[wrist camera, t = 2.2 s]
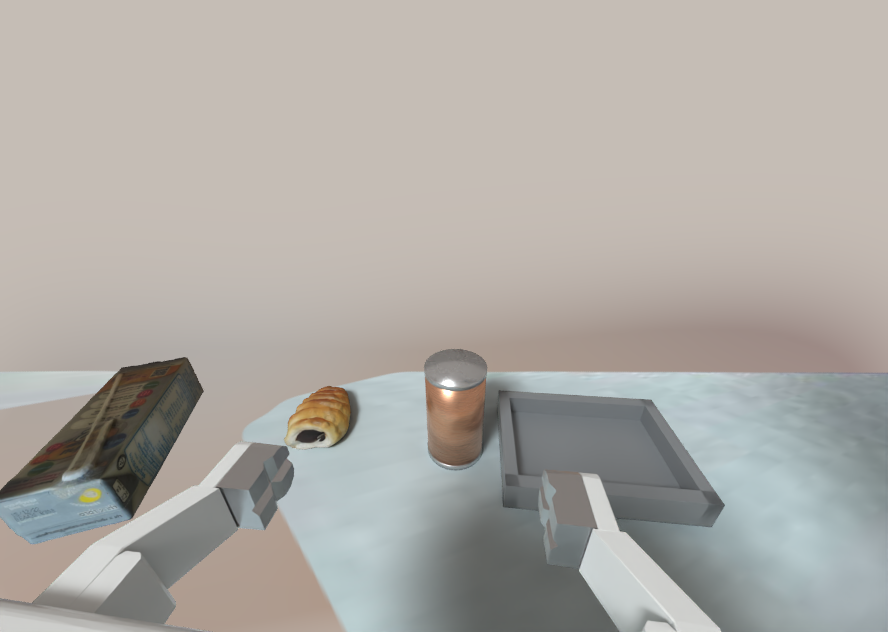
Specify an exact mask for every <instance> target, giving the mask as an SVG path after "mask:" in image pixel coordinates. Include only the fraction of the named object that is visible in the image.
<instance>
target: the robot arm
mask: <svg viewBox="0 0 888 632" xmlns="http://www.w3.org/2000/svg"><path fill="white" fill-rule="evenodd" d="M288 455H289V451H288V449H287V447H286V446H278V445H270V444H262V443H253V442H243V441H240V442H238V443H237V444H235V445H234V446H233V447H232V448H231V450H230V451H229V452H228V453H227V454H226V455H225V456H224V457H223V459H222V460H221V461H220V462H219V463H218V464H217V465H216V466H215V467H214V469H213V470H212V471H211V472H210V473H209V474H208V475H207V477H206V478H205V479H204V480H203V481H202V482H201V483H200V485H199V486H192V487H190V488H189V489H187V490H185V491H183V492H182V493H180V494H178V495H176V496H175V497H173V498H171V499H170V500H168V501H166V502H164V503H163V504H161V505H159V506H157V507H156V508H154V509H152V510H150V511H149V512H147V513H145V514H143V515H142V516H140V517H138V518H137V519H135V520H133V521H132V522H130V523H128V524H126V525H124V526H123V527H121V528H119V529H118V530H116V531H114V532H112V533H111V534H109V535H107V536H105V537H104V538H102V539H100V540H98V541H97V542H95V543H94V544H92V545H91V546H90V547H89V548H88V549H87V550H86V551H85V552H84V553H83V554H82V555H81V556H80V557H78V558H77V559H76V560H75V561H74V562H73V563H72V564H71V565H70V566H69V567H68V568H67V569H66V570H65V571H64V572H63V573H62V574H61V575H60V576H59V577H58V578H57V579H56V580H55V581H54V582H53V583H52V584H51V585H50V586H49V587H48V588H47V589H46V590H45V591H44V592H43V593H42V594H41V595H40V596H38V597H37V598H36V599H35V600H34V601H33V602H32V603H26V602H20V601H13V600H7V599H1V598H0V632H210V631H204V630H198V629H192V628H186V627H178V626H173V625H166V624H165V622H166V621H167V619H168V617H169V616H170V615H171V613H172V612H173V610H174V609H175V607H176V601H175V600H174V598H173V597H172V595H171V594H170V593H169V591H168V590H167V589H168V588H170V587H171V586H172V585H173V584H174V583H175V582H177V581H178V580H179V579H180V578H181V577H183V576H184V575H185V574H186V573H187V572H188V571H190V570H191V569H192V568H193V567H194V566H196V565H197V564H198V563H199V562H200V561H201V560H203V559H204V558H205V557H206V556H207V555H209V554H210V553H211V552H212V551H213V550H215V548H217V547H218V546H219V545H220V544H222V543H223V542H224V541H225V540H226V539H228V538H229V537H230V536H231V535H232V534H233V533H235V532H236V531H237V530H238V528H246V529H258V530H265V529H266V527H267V526H268V524H269V522H270V521H271V519H272V517H273V516H274V513H275V512H276V511H277V509H278V506H277V501H278V500H279V499H281V498H282V497H283V496H285V495H286V494H287V492H288V490H289V488H290V487H291V484H292V480H293V477H294V468H293V464H292V463H291V462H290V461H289V460H288V459H287V457H288ZM542 482H543V486H542V487H540V490H539V503H538V506H539V516H540V522H541V524H542V525H543V526H544V527H545V532H544V536H543V541H544V547H545V553H546V559H547V564H549V565H556V566H562V567H569V568H576V569H579V572H580V573H581V575H582V576H583V578H584V579H585V581H586V582H587V584H588V585H589V587H590V588H591V590H592V591H593V593H594V594H595V595H596V597H597V598H598V600H599V601H600V603H601V604H602V606H603V607H604V609H605V610H606V612H607V613H608V615H609V616H610V618H611V619H612V621H613V622H614V624H615V625H616V627H617V628H618V630H619V631H620V632H721V630H720V628H719V627H718V626H717V625H716V624H715V623H714V622H713V621H712V620H711V619H710V618H709V617H708V616H707V615H706V614H705V613H704V612H703V611H702V610H701V609H700V608H699V607H698V606H697V605H696V604H695V603H694V602H693V601H692V600H691V599H690V598H689V596H688V595H687V594H686V593H685V592H684V591H683V590H682V589H681V588H680V587H679V586H678V585H677V584H676V583H675V582H674V581H673V580H672V579H671V578H670V577H669V576H668V575H667V574H666V573H665V572H664V571H663V570H662V569H661V568H660V567H659V566H658V565H657V564H656V563H655V562H654V561H653V560H652V558H651V557H650V556H649V555H648V554H647V553H646V552H645V551H644V550H643V549H642V548H641V547H640V546H639V545H638V544H637V543H636V542H635V541H634V540H633V539H632V538H631V537H630V536H629V535H628V534H627V533H626V532H621V531H620V530H619V527H618V524H617V522H616V519H615V516H614V514H613V511H612V508H611V506H610V503H609V500H608V498H607V495H606V492H605V490H604V487H603V484H602V482H601V479H600V477H599V476H598V475H597V474H590V473H578V472H571V471H558V470H546V469H545V470H544V471H543V474H542Z"/></svg>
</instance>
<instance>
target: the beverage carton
mask: <svg viewBox="0 0 888 632" xmlns="http://www.w3.org/2000/svg"><path fill="white" fill-rule="evenodd" d="M202 393H203V389H202V387H201V384H200V383H199V381H198V378H197V376H196V374H195V373H194V370H193V368H192V366H191V364H190V362H189V360H188V359H187V358H185V357H183V358H178V359H174V360H169V361H163V362H153V363H148V364H143V365H138V366H130V367H123V368H121V369H120V370H119V371H118V372H117V373H116V374H115V375H114V376H113V377H112V378H111V379H110V380H109V381H108V382H107V383H106V384H105V385H104V386H103V387H102V388H101V389H100V390H99V391H98V392H97V393H96V394H95V396H93V397H92V398H91V399H90V401H89V402H88V403H87V404H86V405H85V406H84V407H83V408H82V409H81V410H80V411H79V412H78V413H77V414H76V415H75V416H74V417H73V418H72V420H71V421H69V422H68V423H67V424H66V425H65V426H64V427H63V429H61V431H60V432H59V433H58V434H56V435H55V436H54V437H53V439H52V440H50V441H49V442H48V444H47V445H46V446H44V447H43V448H42V449H41V450H40V451H39V452H38V453H37V454H36V456H35V457H34V458H33V459H32V460H31V461H30V462H29V463H28V464H27V465H26V466H25V467H24V468H23V469H22V470H21V471H20V472H19V473H18V474H17V475H16V476H15V477H14V478H12V479H11V480H10V481H9V482H8V483H7V484H6V485H5V486H4V487H3V488H2V489H1V490H0V518H2V520H3V521H4V522H5V523H6V524H7V525H8V527H9V528H10V529H12V530H13V531H14V532H15V533H16V534H17V535H19V536H21V537H23V538H24V539H25V540H27V541H28V542H29V543H30V544H38V543H42V542H45V541H48V540H53V539H56V538H60V537H64V536H68V535H72V534H75V533H79V532H83V531H87V530H91V529H94V528H98V527H102V526H106V525H110V524H115V523H119V522H122V521H126V520H130V519H131V518H132V517H133V516H134V514H135V512H136V510H137V509H138V507H139V505H140V504H141V502H142V500H143V498H144V496H145V495H146V493H147V491H148V489H149V487H150V486H151V484H152V482H153V481H154V479H155V477H156V476H157V474H158V472H159V470H160V469H161V467H162V465H163V463H164V461H165V459H166V457H167V456H168V454H169V452H170V450H171V449H172V447H173V445H174V443H175V442H176V440H177V438H178V436H179V434H180V432H181V430H182V429H183V427H184V425H185V423H186V422H187V420H188V418H189V416H190V414H191V412H192V411H193V409H194V407H195V405H196V403H197V402H198V400H199V398H200V396H201V395H202Z"/></svg>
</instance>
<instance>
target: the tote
mask: <svg viewBox="0 0 888 632" xmlns="http://www.w3.org/2000/svg"><path fill="white" fill-rule="evenodd" d="M497 412H498V428H499V445H500V461H501V477H502V494H503V507H509V508H519V509H530V510H539V506H538V503H539V490H540V487H542V486H543V482H542V474H543V471H544V470H545V469H546V470H558V471H571V472H578V473H590V474H597V475H598V476H599V477H600V479H601V482H602V484H603V487H604V490H605V492H606V495H607V498H608V500H609V503H610V506H611V508H612V511H613V514H614V516H615V518H623V519H634V520H644V521H654V522H665V523H675V524H685V525H696V526H706V527H712V526H713V524H714V522H715V521H716V519H717V517H718V516H719V514H720V512H721V511H722V509H723V507H724V506H725V505H724V503H723V502H722V501H721V499H720V498H719V496H718V495H717V493H716V492H715V491H714V489H713V488H712V486H711V485H710V483H709V482H708V481H707V479H706V478H705V476H704V475H703V473H702V472H701V471H700V469H699V468H698V466H697V465H696V463H695V462H694V460H693V459H692V458H691V456H690V455H689V453H688V452H687V450H686V449H685V448H684V446H683V445H682V443H681V442H680V440H679V439H678V438H677V436H676V435H675V433H674V432H673V430H672V429H671V428H670V426H669V425H668V423H667V422H666V420H665V419H664V417H663V416H662V415H661V413H660V412H659V410H658V409H657V407H656V406H655V405H654V403H653V402H652V400H645V399H629V398H612V397H596V396H580V395H563V394H547V393H530V392H514V391H499V395H498V407H497Z"/></svg>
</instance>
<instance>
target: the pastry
mask: <svg viewBox="0 0 888 632" xmlns="http://www.w3.org/2000/svg"><path fill="white" fill-rule="evenodd" d="M350 413H351V411H350V404H349V398H348V394H347V392H346V391H345V390H344V389H343V388H339V387H331V386H327V387H324V388H321V389H319V390H318V391H317V392H315V393H312V394H311V395H310V396H309V398H306V399H304V400H303V403H302V404H300V405H299V406H298V407H297V410H296V413H295V414H293V415H292V416H291V417H290V419H289V421H288V432H287V436H286V437H285V438H284V441H285V443H286V444H287V445H288V446H291V447H292V448H297V449H302V450H303V449H310V448H315V447H330V446H332V445H334V444H335V443H336V442H338V441H339V440H340V439H341V438H342V437H343V436H344V435H345V434H346V432H347V430H348V427H349V419H350Z"/></svg>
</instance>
